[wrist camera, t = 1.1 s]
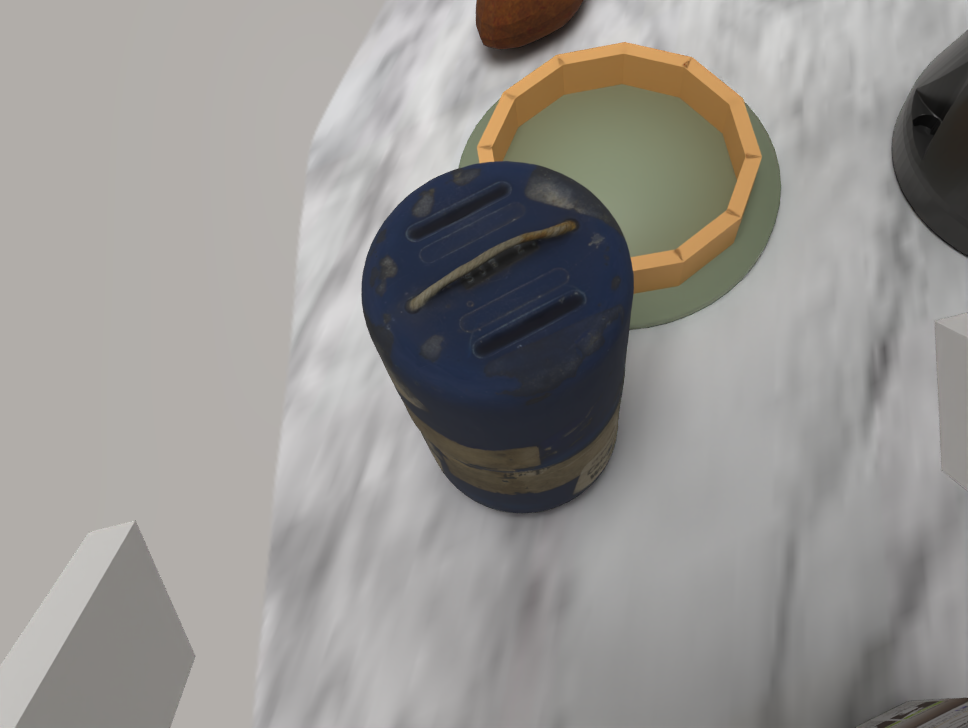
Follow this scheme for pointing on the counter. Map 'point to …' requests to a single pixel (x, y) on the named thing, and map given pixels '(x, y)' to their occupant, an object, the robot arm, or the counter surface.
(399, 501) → the counter surface
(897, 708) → the coffee box
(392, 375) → the canister
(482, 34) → the potato
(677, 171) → the green orange round dish
